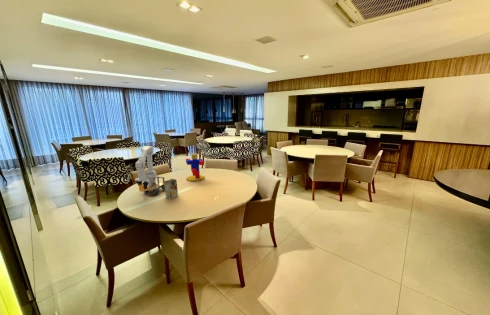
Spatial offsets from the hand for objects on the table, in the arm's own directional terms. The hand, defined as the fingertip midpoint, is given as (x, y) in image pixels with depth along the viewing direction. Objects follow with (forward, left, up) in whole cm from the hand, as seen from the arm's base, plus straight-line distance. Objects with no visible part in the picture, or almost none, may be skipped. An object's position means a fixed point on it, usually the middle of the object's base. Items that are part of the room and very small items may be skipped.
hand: (143, 188), depth 175 cm
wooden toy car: (-1, +15, -9) cm, 17 cm away
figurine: (+16, +60, -9) cm, 63 cm away
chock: (0, +1, -2) cm, 2 cm away
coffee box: (+22, +10, -9) cm, 26 cm away
